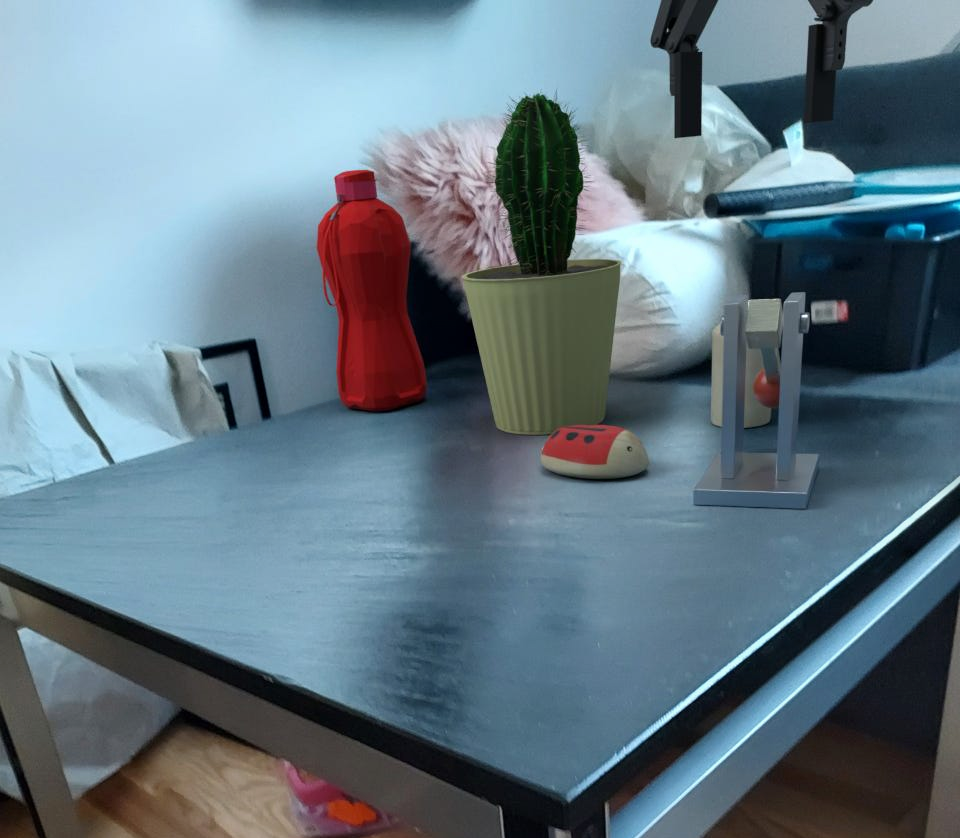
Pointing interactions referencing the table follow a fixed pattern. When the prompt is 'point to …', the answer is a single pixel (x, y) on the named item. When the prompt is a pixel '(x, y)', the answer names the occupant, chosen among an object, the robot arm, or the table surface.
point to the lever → (766, 347)
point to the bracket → (731, 470)
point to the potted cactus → (543, 285)
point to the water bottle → (370, 297)
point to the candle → (753, 409)
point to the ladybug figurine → (594, 452)
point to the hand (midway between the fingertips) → (749, 130)
